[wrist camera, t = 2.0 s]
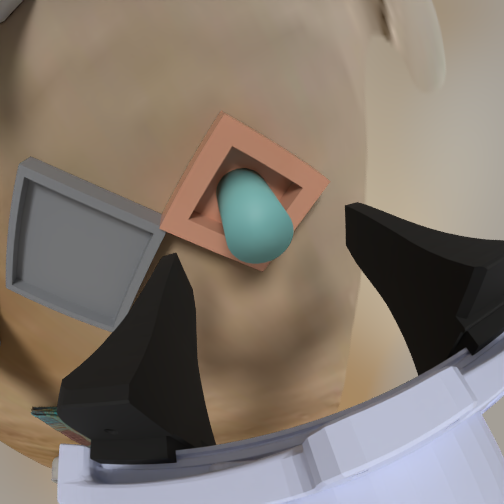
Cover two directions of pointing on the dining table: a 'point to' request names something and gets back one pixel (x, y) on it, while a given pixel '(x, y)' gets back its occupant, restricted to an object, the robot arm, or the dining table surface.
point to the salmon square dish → (223, 161)
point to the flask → (7, 8)
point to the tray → (77, 245)
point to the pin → (252, 217)
